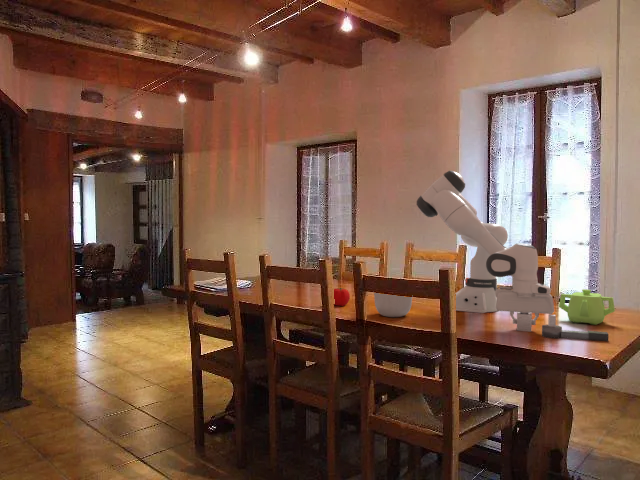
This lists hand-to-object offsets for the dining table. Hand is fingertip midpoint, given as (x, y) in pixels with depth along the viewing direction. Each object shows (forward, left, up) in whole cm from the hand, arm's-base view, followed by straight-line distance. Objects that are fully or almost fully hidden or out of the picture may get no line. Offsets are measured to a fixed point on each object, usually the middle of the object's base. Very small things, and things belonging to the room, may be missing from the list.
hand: (524, 324), depth 197 cm
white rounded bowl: (-52, +11, -2) cm, 53 cm away
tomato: (-81, +27, -2) cm, 85 cm away
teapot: (+23, +22, -2) cm, 32 cm away
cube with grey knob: (0, 0, -2) cm, 2 cm away
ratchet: (+16, -8, -2) cm, 18 cm away
